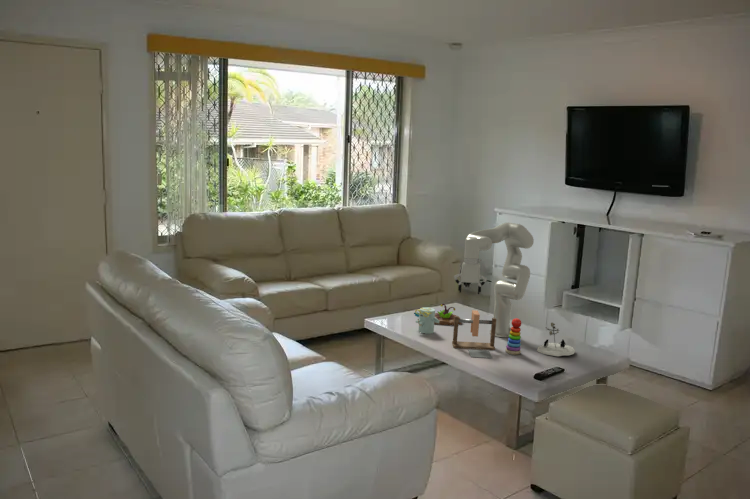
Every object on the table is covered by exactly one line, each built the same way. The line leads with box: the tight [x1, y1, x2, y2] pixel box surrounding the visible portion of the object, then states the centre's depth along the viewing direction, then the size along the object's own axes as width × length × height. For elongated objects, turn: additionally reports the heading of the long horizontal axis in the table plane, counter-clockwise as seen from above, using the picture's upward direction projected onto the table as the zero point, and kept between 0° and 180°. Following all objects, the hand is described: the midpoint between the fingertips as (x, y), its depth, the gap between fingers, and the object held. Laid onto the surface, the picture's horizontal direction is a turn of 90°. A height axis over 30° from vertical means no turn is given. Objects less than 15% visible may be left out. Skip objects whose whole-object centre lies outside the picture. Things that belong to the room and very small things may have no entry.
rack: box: [451, 315, 496, 351], centre depth 341 cm, size 22×8×16 cm, turn 89°
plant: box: [434, 303, 463, 326], centre depth 388 cm, size 20×20×11 cm
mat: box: [467, 349, 493, 359], centre depth 330 cm, size 11×11×1 cm
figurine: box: [536, 322, 576, 357], centre depth 340 cm, size 20×18×16 cm
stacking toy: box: [505, 318, 522, 356], centre depth 333 cm, size 8×8×19 cm
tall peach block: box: [470, 309, 481, 337], centre depth 340 cm, size 3×8×12 cm, turn 179°
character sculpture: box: [413, 306, 440, 335], centre depth 363 cm, size 20×12×13 cm, turn 43°
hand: (469, 292), depth 336 cm, fingers open, 9 cm apart
